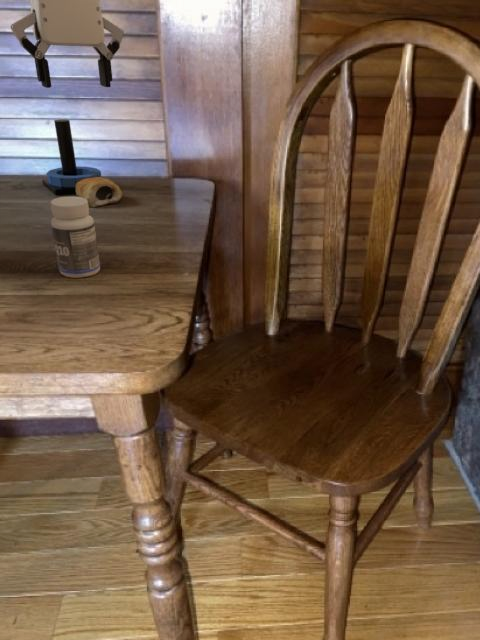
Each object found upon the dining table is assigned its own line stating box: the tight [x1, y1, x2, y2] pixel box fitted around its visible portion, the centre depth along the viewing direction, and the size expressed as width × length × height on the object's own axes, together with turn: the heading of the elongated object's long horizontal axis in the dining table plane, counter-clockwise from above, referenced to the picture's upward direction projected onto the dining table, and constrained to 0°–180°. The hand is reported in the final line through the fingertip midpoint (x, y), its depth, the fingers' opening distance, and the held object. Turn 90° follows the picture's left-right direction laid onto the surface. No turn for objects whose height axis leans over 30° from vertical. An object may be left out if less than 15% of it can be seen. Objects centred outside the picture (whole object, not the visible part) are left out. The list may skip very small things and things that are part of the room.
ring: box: [46, 165, 102, 187], centre depth 100 cm, size 9×9×2 cm
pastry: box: [75, 176, 123, 208], centre depth 94 cm, size 9×7×4 cm
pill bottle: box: [50, 195, 101, 279], centre depth 66 cm, size 5×5×8 cm
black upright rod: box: [41, 118, 78, 196], centre depth 98 cm, size 8×8×11 cm
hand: (76, 86), depth 94 cm, fingers open, 9 cm apart
